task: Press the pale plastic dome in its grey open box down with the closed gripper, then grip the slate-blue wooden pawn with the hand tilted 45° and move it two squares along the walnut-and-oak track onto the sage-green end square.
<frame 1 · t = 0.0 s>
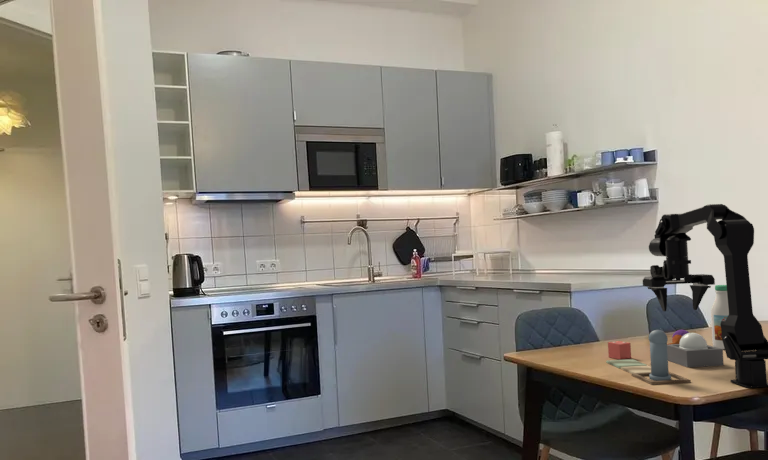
hand: (679, 310, 165), 15 cm above the table, tool pointing down, fingers open, 9 cm apart
milk bottle: (726, 348, 182), on the table
pawn: (660, 379, 146), resting in game track
dome: (693, 345, 163), point 5 cm above the table, slide at 0.0 cm
grey open box: (694, 362, 163), on the table
red block: (619, 357, 174), on the table
maraca: (675, 352, 181), on the table
game track: (642, 371, 155), on the table
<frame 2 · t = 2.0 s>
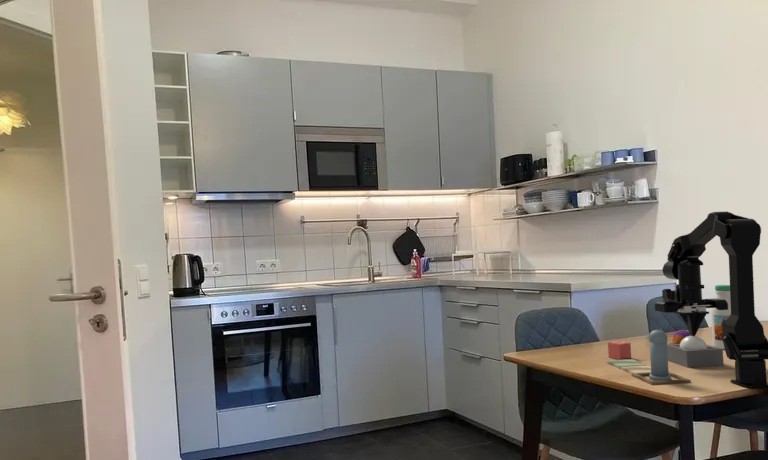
hand: (692, 335, 163), 8 cm above the table, tool pointing down, fingers closed, pressing on dome
dome: (693, 348, 163), point 4 cm above the table, slide at 0.9 cm, touching gripper
everything else where it was.
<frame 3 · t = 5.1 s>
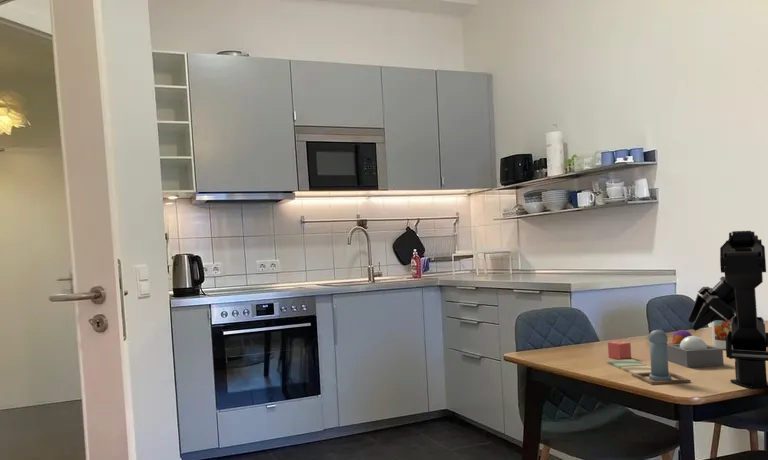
hand: (691, 325, 150), 13 cm above the table, tool tilted 45°, fingers open, 9 cm apart
dome: (693, 348, 163), point 4 cm above the table, slide at 0.9 cm
everything else where it was.
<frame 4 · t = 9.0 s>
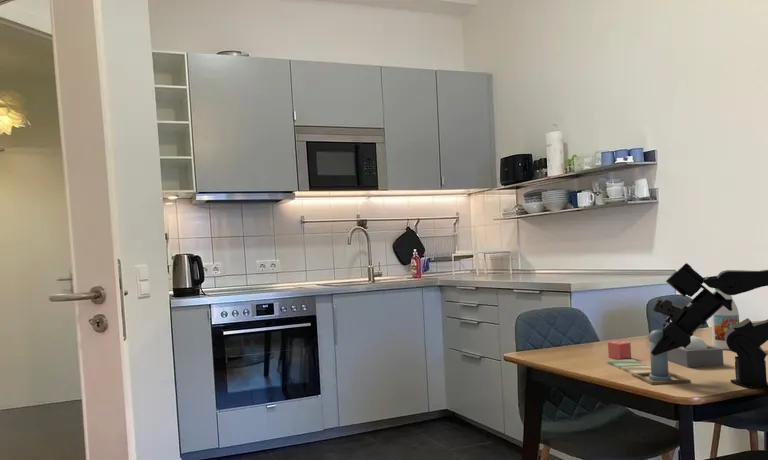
hand: (652, 352, 147), 7 cm above the table, tool tilted 45°, fingers closed on pawn, 4 cm apart
pawn: (660, 378, 146), resting in game track, touching gripper
everything else where it was.
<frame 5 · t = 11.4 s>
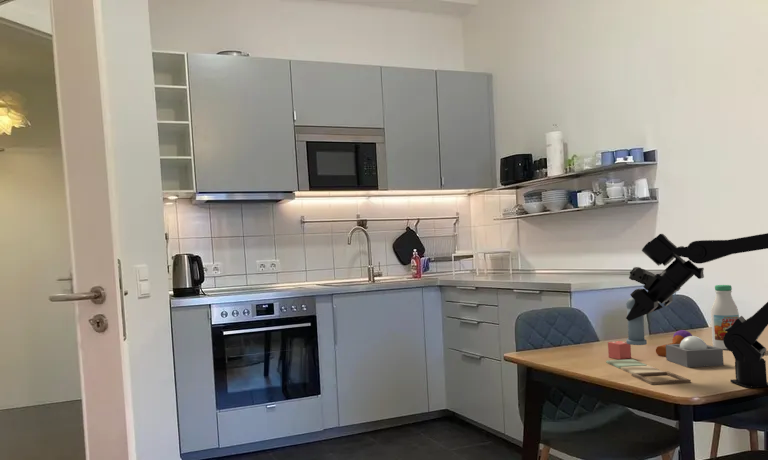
hand: (630, 318, 155), 14 cm above the table, tool tilted 45°, fingers closed on pawn, 4 cm apart
pawn: (636, 343, 154), point 8 cm above the table, touching gripper
everything else where it was.
when the fingers open (9 cm above the table, at t = 13.6 s): pawn drops 1 cm, resting on game track.
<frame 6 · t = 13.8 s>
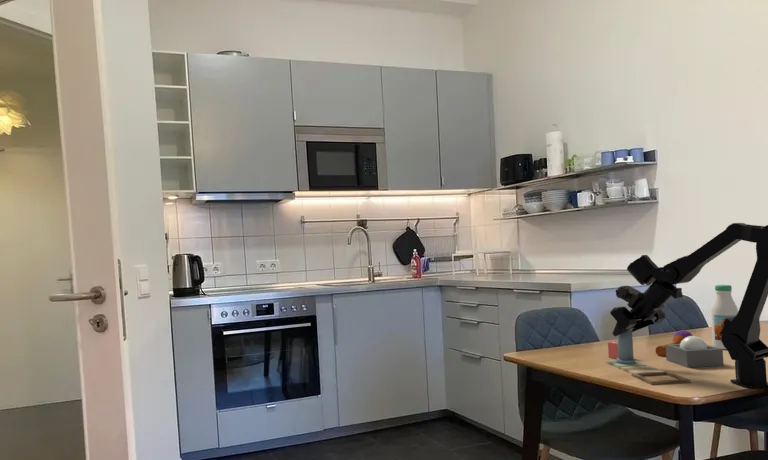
hand: (620, 333, 165), 9 cm above the table, tool tilted 45°, fingers open, 6 cm apart
pawn: (626, 362, 164), point 1 cm above the table, touching game track
everything else where it was.
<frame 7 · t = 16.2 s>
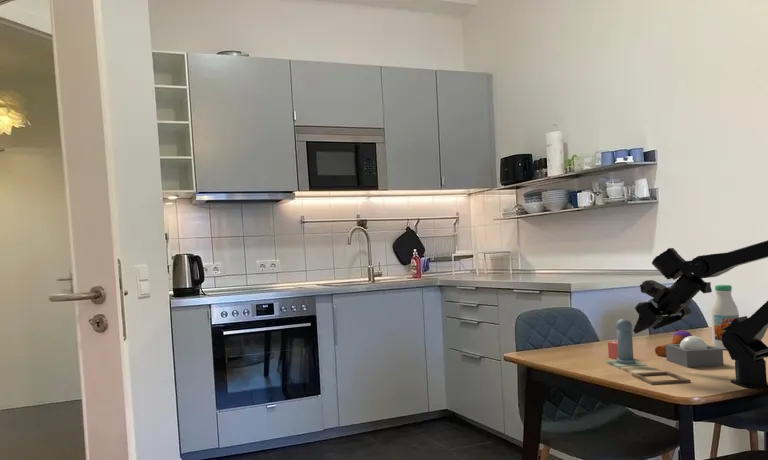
hand: (644, 330, 159), 10 cm above the table, tool tilted 45°, fingers open, 9 cm apart
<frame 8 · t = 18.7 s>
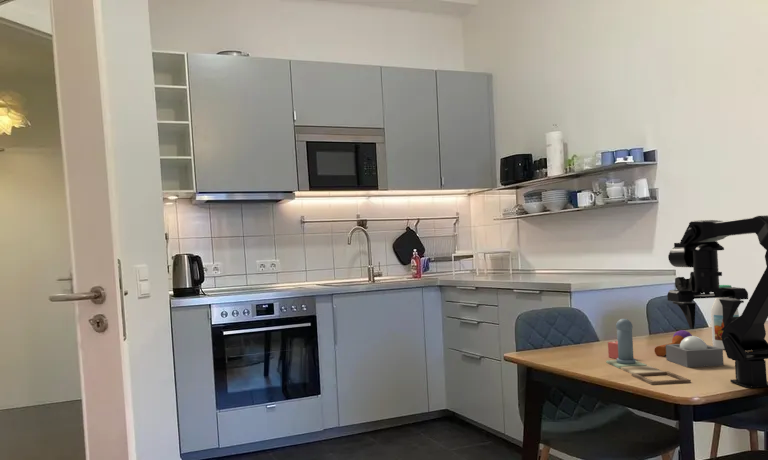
hand: (709, 327, 149), 12 cm above the table, tool pointing down, fingers open, 9 cm apart
at the end: pawn inside the target area on the game track (0.1 cm from its centre), point 0.6 cm above the game track's base; pawn tilted 1°; dome slide at 0.9 cm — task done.
